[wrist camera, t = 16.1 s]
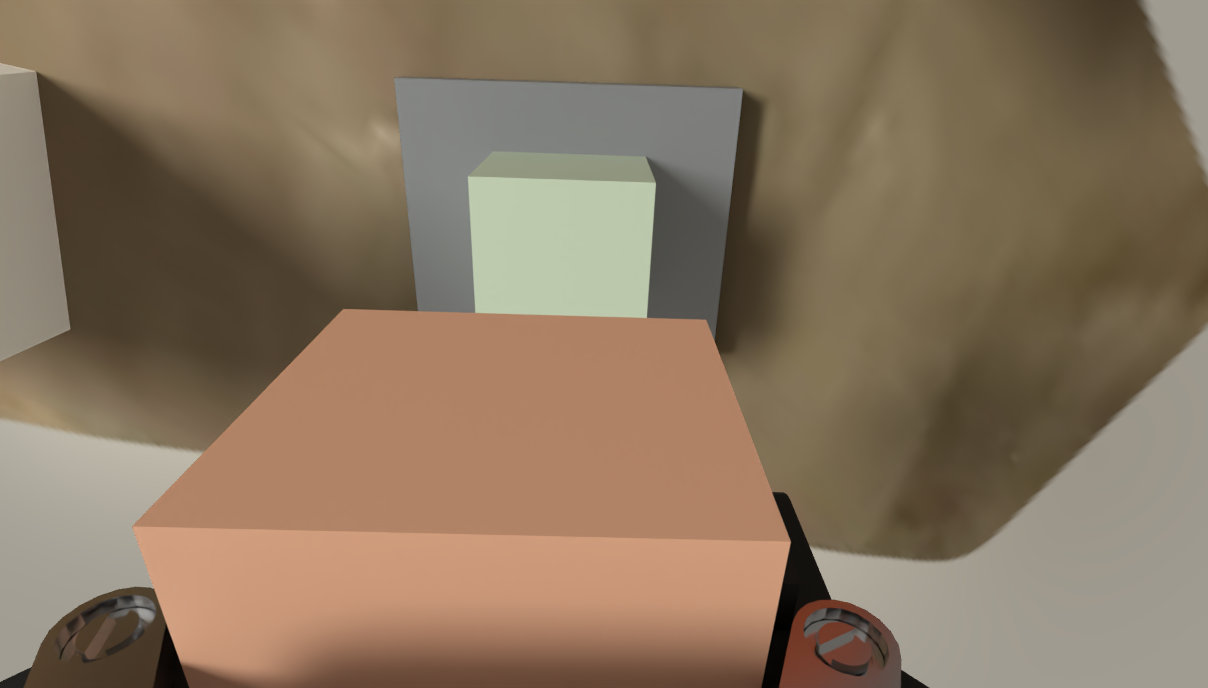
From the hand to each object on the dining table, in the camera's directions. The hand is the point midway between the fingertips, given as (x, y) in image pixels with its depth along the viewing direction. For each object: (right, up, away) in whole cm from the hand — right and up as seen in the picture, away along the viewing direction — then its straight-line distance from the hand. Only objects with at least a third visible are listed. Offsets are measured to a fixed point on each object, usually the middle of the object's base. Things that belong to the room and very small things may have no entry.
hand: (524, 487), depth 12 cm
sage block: (0, +8, +16) cm, 18 cm away
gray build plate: (0, +8, +17) cm, 19 cm away
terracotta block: (0, 0, +1) cm, 1 cm away
